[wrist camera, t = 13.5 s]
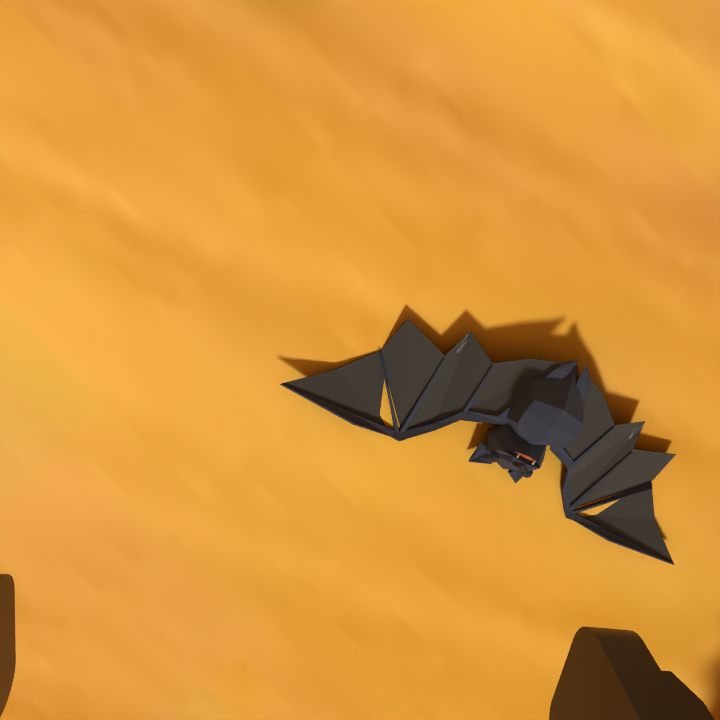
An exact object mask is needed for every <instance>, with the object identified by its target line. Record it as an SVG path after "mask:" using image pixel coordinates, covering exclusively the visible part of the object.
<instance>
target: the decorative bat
mask: <svg viewBox="0 0 720 720" xmlns="http://www.w3.org/2000/svg"><path fill="white" fill-rule="evenodd" d="M577 361H578V360H576V361H570V362H563V363H561V362H554V361H547V360H541V359H534V358H531V359H523V360H515V361H507V362H499V363H492V362H491V360H490V359H489V357H488V356H487V354H486V353H485V352H484V350H483V349H482V347H481V346H480V344H479V343H478V341H477V340H476V339H475V337H474V336H473V334H472V333H471V332H469V333H468V334H467V335H466V336H465V337H464V338H463V339H462V340H461V341H460V342H459V343H458V344H457V345H456V346H455V347H454V348H453V349H451V350H450V351H449V352H448V353H447V354H446V355H444V354H443V353H442V352H441V351H440V350H439V349H438V348H437V347H436V346H435V345H434V344H433V343H432V342H431V341H430V340H429V339H428V338H427V337H426V336H425V335H424V334H423V333H422V332H421V331H420V330H419V329H418V328H417V327H416V326H415V325H414V324H413V323H412V322H411V321H410V320H409V319H408V320H407V321H406V322H405V323H404V324H403V325H402V326H401V328H400V329H399V330H398V331H397V332H396V333H395V335H394V336H393V337H392V338H391V339H390V340H389V342H388V343H387V344H386V345H385V346H384V347H383V349H382V350H380V351H377V352H375V353H373V354H371V355H368V356H366V357H364V358H361V359H359V360H357V361H354V362H352V363H350V364H348V365H345V366H343V367H341V368H338V369H336V370H332V371H328V372H324V373H320V374H317V375H313V376H309V377H305V378H301V379H298V380H294V381H290V382H286V383H282V384H280V385H282V386H284V387H286V388H288V389H289V390H291V391H293V392H295V393H297V394H298V395H300V396H302V397H304V398H306V399H308V400H309V401H311V402H313V403H315V404H317V405H319V406H320V407H322V408H324V409H326V410H328V411H329V412H331V413H333V414H335V415H337V416H339V417H340V418H342V419H344V420H346V421H348V422H349V423H351V424H353V425H356V426H359V427H362V428H365V429H369V430H372V431H375V432H378V433H381V434H384V435H387V436H390V437H392V438H394V439H396V440H398V441H402V440H405V439H407V438H411V437H414V436H417V435H421V434H424V433H428V432H431V431H434V430H437V429H439V428H442V427H444V426H447V425H449V424H452V423H454V422H457V421H459V420H465V421H474V422H483V423H492V424H498V426H495V427H492V428H490V429H488V432H487V436H486V440H485V443H483V442H480V444H479V445H478V447H477V448H476V450H475V451H474V453H473V454H472V456H471V457H470V459H469V462H477V463H486V464H491V463H492V462H493V463H494V462H497V463H498V464H499V465H500V466H501V467H502V468H503V469H509V471H508V473H509V474H510V476H511V477H512V479H513V480H514V482H515V483H516V482H517V481H519V480H520V479H521V478H522V477H523V476H524V477H526V478H528V477H531V475H532V474H533V471H532V470H535V469H539V468H540V467H541V464H542V462H543V459H544V455H545V451H546V446H547V445H550V450H551V451H552V452H553V453H554V454H555V455H556V456H557V457H558V458H559V459H560V461H561V462H562V463H563V464H564V465H565V467H566V472H565V475H564V479H563V483H562V487H561V491H562V499H563V507H564V512H565V516H566V518H568V519H571V520H574V521H575V522H577V523H579V524H580V525H582V526H584V527H586V528H587V529H589V530H591V531H592V532H594V533H596V534H597V535H599V536H601V537H602V538H604V539H606V540H608V541H610V542H613V543H615V544H618V545H621V546H624V547H626V548H629V549H632V550H634V551H637V552H640V553H643V554H645V555H648V556H651V557H654V558H656V559H659V560H662V561H664V562H667V563H670V564H673V565H674V563H673V561H672V559H671V556H670V554H669V552H668V549H667V547H666V545H665V543H664V540H663V538H662V536H661V533H660V531H659V529H658V526H657V524H656V522H655V518H654V507H653V496H652V483H651V481H652V480H653V479H654V478H655V477H656V476H657V475H658V474H659V473H660V471H661V470H662V469H663V468H664V467H665V466H666V465H667V464H668V463H669V462H670V460H671V459H672V458H673V457H674V456H675V455H676V454H668V453H660V452H652V451H644V450H636V449H633V448H634V445H635V443H636V441H637V439H638V436H639V434H640V432H641V430H642V427H643V425H644V423H645V421H643V422H636V423H628V424H620V425H615V424H614V421H613V419H612V416H611V413H610V411H609V408H608V405H607V403H606V400H605V397H604V395H603V394H602V392H601V391H600V390H599V388H598V387H597V386H596V384H595V383H594V382H593V381H592V379H591V378H590V376H589V372H588V369H587V366H586V365H585V367H584V369H583V371H582V373H581V376H580V378H579V374H578V369H577V364H576V363H577ZM575 364H576V365H575ZM384 379H385V383H386V388H387V393H388V398H389V403H390V407H391V414H392V420H393V426H394V430H393V429H391V428H389V427H387V426H385V424H384V422H383V420H382V418H381V416H380V407H381V399H382V391H383V383H384ZM388 384H389V385H388ZM389 388H390V391H391V395H392V399H393V403H394V406H395V410H396V414H397V418H398V422H399V424H400V429H398V425H397V421H396V417H395V414H394V410H393V406H392V401H391V396H390V391H389ZM632 488H633V489H632ZM629 489H630V490H629ZM626 490H627V491H626ZM623 491H625V492H623ZM620 492H622V493H620ZM617 493H619V494H617ZM614 494H617V495H614ZM611 495H614V496H612V497H609V498H606V499H604V500H601V501H598V502H596V503H593V504H590V505H588V506H585V507H583V508H580V509H576V510H574V509H575V508H576V507H577V506H579V505H583V504H586V503H589V502H592V501H595V500H598V499H601V498H604V497H608V496H611ZM619 499H620V500H619ZM615 500H618V501H617V502H615V503H614V504H612V505H611V506H609V507H608V508H606V509H605V510H603V511H602V512H600V513H599V514H597V515H591V516H585V517H582V516H580V515H578V514H575V513H578V512H581V511H584V510H588V509H591V508H594V507H597V506H600V505H603V504H606V503H609V502H612V501H615Z"/></svg>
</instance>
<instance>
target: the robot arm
mask: <svg viewBox="0 0 720 720" xmlns="http://www.w3.org/2000/svg"><path fill="white" fill-rule="evenodd" d="M15 661H16V654H15V591H14V581H13V578H12V576H11V575H9V574H0V717H1V715H2V712H3V710H4V708H5V705H6V703H7V700H8V697H9V694H10V690H11V686H12V682H13V678H14V672H15ZM549 720H714V718H713V716H712V715H711V713H710V712H709V710H708V709H707V707H706V706H705V704H704V703H703V701H702V700H700V699H699V698H698V697H697V696H696V695H695V694H694V693H693V692H692V691H691V690H690V689H689V688H688V687H687V686H686V685H685V684H684V683H683V682H681V681H680V680H679V679H678V678H677V677H676V676H675V675H674V674H673V673H672V672H671V671H661V670H660V668H659V666H658V665H657V663H656V662H655V660H654V658H653V657H652V655H651V653H650V652H649V650H648V648H647V647H646V645H645V643H644V642H643V640H642V639H641V637H640V636H639V635H638V634H637V633H635V632H634V631H629V630H618V629H607V628H595V627H582V628H580V629H579V630H578V631H577V632H576V634H575V636H574V639H573V642H572V645H571V647H570V650H569V653H568V656H567V659H566V662H565V665H564V667H563V670H562V673H561V676H560V679H559V682H558V685H557V688H556V690H555V693H554V696H553V699H552V702H551V707H550V714H549Z"/></svg>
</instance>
